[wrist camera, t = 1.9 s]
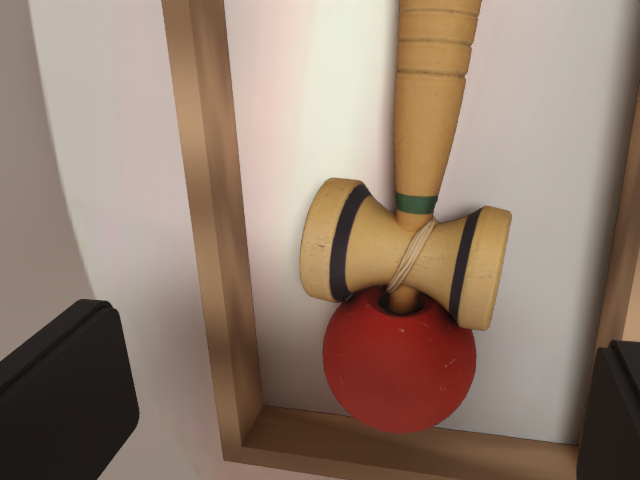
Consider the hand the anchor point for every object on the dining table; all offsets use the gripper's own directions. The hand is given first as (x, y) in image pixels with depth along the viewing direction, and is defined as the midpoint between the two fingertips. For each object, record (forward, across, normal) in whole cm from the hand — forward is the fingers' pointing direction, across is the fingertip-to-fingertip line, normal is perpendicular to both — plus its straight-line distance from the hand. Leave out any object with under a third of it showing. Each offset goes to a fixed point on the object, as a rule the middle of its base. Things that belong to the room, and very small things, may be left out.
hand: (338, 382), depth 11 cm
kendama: (+13, -1, 0) cm, 13 cm away
